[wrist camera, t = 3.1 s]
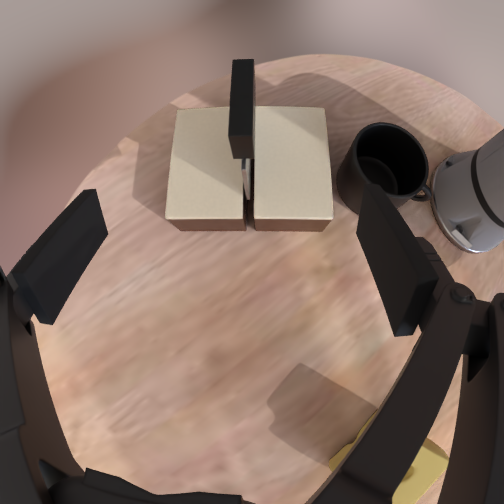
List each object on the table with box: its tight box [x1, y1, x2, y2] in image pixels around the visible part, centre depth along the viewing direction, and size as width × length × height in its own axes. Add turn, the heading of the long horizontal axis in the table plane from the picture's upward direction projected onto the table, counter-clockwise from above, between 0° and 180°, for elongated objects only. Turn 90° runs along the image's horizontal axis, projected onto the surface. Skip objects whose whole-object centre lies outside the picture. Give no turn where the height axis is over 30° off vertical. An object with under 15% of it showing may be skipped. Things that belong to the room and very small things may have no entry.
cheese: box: [329, 411, 449, 504], centre depth 29 cm, size 10×11×10 cm
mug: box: [337, 122, 432, 214], centre depth 35 cm, size 9×12×9 cm
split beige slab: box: [165, 106, 333, 232], centre depth 37 cm, size 18×14×7 cm
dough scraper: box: [228, 59, 255, 200], centre depth 28 cm, size 2×10×12 cm, turn 179°
